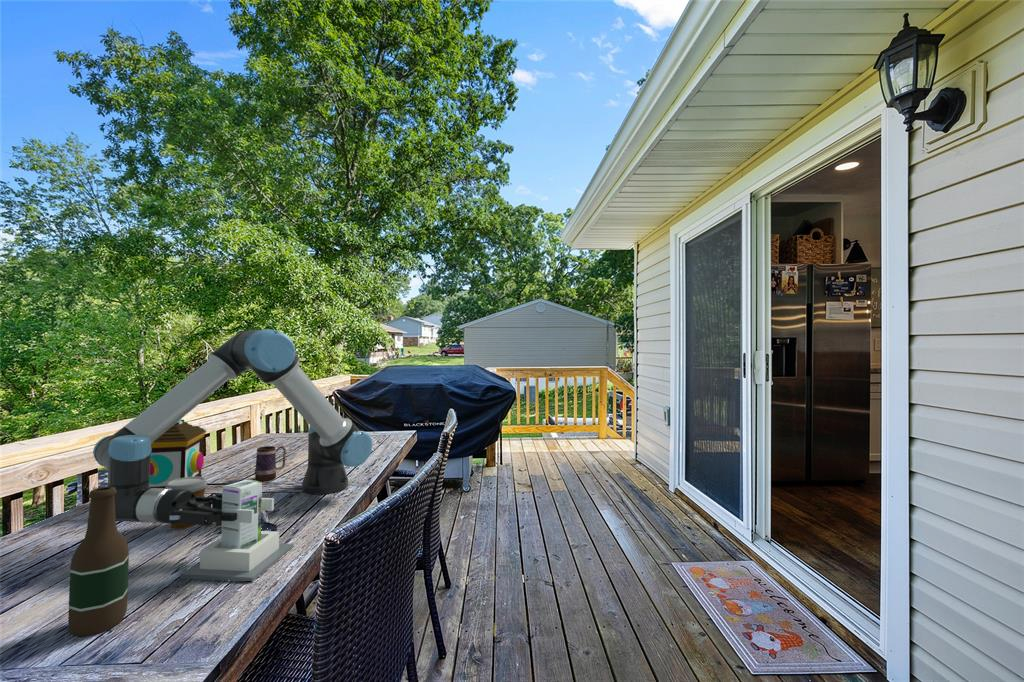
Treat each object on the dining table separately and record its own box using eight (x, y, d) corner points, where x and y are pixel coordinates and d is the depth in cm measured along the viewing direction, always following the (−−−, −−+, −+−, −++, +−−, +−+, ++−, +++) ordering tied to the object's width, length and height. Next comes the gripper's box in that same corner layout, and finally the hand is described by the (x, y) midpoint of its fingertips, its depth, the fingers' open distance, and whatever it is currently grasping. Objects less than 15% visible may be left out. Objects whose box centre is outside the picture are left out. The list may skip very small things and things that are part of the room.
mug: (254, 483, 161) (255, 449, 162) (253, 478, 167) (254, 445, 168) (286, 479, 167) (287, 446, 167) (284, 474, 173) (285, 443, 173)
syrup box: (238, 554, 99) (241, 488, 100) (219, 549, 101) (222, 485, 102) (261, 543, 105) (263, 481, 105) (242, 539, 107) (244, 478, 107)
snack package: (280, 520, 129) (234, 524, 125) (281, 500, 128) (234, 502, 124) (274, 545, 118) (223, 550, 114) (275, 522, 117) (223, 526, 113)
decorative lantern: (211, 489, 153) (214, 402, 154) (190, 510, 134) (193, 410, 135) (140, 494, 147) (143, 403, 147) (108, 516, 128) (111, 411, 128)
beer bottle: (93, 611, 83) (97, 482, 84) (138, 610, 84) (142, 481, 84) (54, 639, 76) (59, 496, 76) (103, 637, 76) (108, 495, 76)
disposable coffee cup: (183, 533, 118) (185, 487, 118) (154, 529, 120) (155, 484, 120) (214, 520, 127) (215, 477, 127) (186, 516, 129) (187, 475, 129)
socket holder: (231, 545, 112) (232, 525, 112) (293, 548, 111) (294, 528, 111) (180, 578, 96) (180, 554, 96) (252, 582, 95) (253, 558, 95)
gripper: (199, 507, 114) (286, 511, 113) (128, 540, 94) (233, 545, 93) (200, 477, 114) (287, 481, 113) (129, 504, 94) (234, 509, 93)
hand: (263, 510), depth 103 cm, fingers closed on syrup box, 7 cm apart
